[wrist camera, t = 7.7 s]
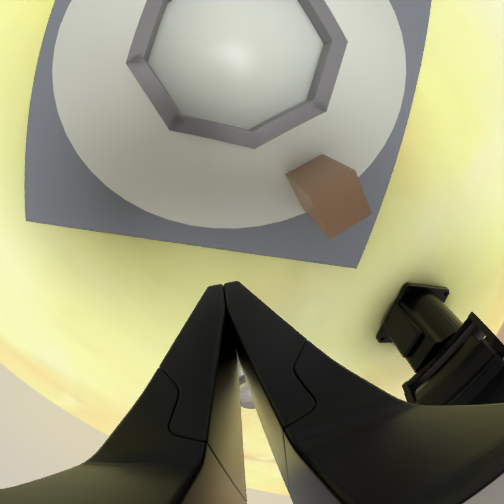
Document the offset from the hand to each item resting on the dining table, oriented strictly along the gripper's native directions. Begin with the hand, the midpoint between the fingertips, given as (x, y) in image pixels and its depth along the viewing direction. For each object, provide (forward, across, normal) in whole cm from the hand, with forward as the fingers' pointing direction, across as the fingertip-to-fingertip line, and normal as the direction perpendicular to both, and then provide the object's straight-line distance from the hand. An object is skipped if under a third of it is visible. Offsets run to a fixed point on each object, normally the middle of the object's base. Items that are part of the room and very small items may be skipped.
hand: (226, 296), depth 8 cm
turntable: (+10, -2, -9) cm, 14 cm away
